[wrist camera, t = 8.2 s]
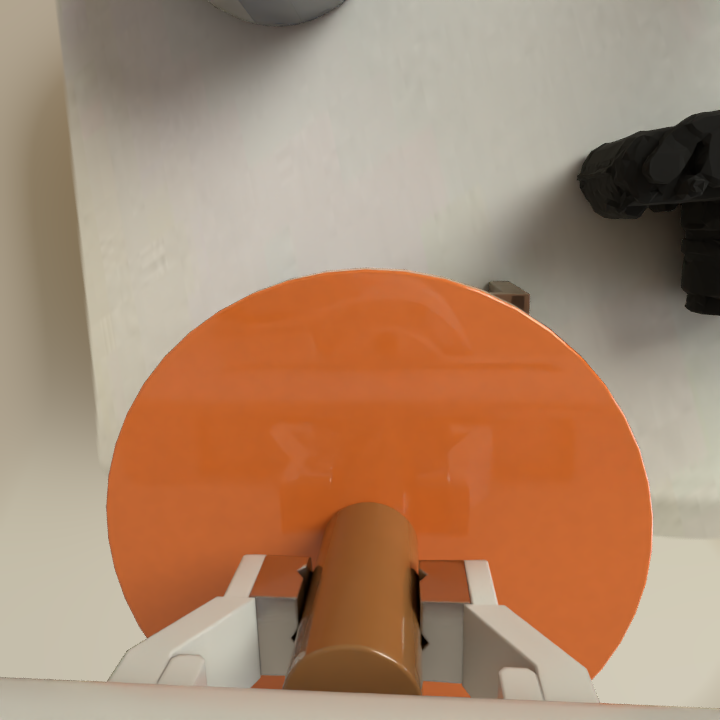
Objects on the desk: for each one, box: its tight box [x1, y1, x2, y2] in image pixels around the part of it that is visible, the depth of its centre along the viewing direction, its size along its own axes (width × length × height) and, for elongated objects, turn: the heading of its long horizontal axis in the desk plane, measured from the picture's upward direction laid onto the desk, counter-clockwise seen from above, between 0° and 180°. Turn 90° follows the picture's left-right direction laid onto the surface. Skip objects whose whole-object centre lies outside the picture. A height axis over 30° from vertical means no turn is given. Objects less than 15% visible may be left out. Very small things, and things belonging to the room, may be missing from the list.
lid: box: [106, 268, 653, 698], centre depth 13 cm, size 14×14×6 cm
